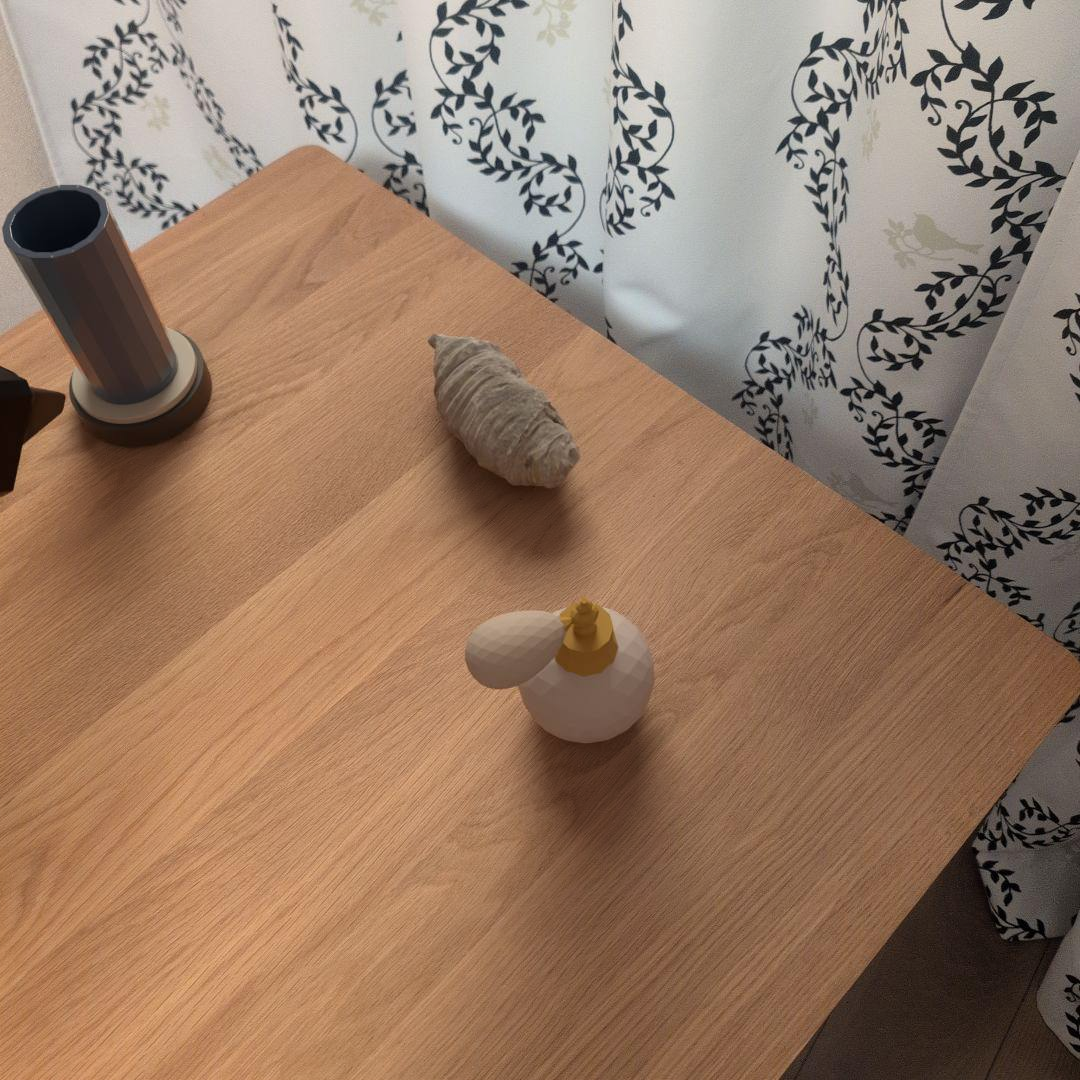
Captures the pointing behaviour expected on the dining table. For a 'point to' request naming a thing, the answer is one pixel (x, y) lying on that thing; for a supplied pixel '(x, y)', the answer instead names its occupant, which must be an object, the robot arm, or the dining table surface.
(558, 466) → the taro root
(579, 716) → the perfume bottle
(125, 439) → the beige and brown disc
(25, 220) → the cup
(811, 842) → the dining table surface
